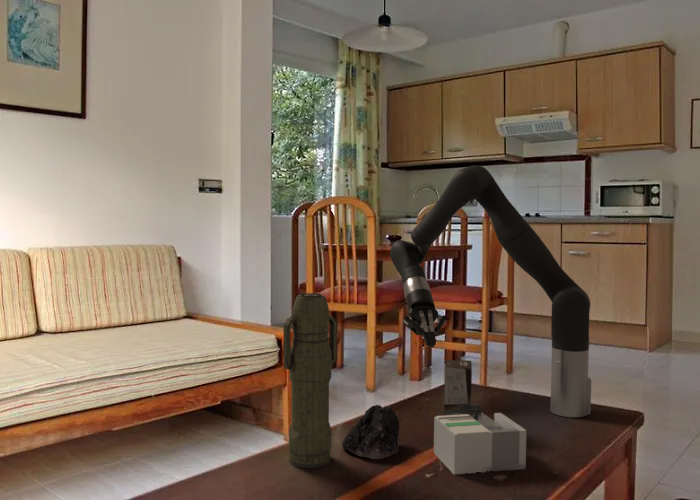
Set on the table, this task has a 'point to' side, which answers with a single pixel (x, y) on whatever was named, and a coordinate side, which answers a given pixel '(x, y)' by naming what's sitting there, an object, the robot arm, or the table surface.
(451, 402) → the coffee box
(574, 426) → the table surface
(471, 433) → the gauge housing
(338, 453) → the table surface
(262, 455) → the table surface
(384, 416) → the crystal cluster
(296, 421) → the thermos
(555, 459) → the table surface
